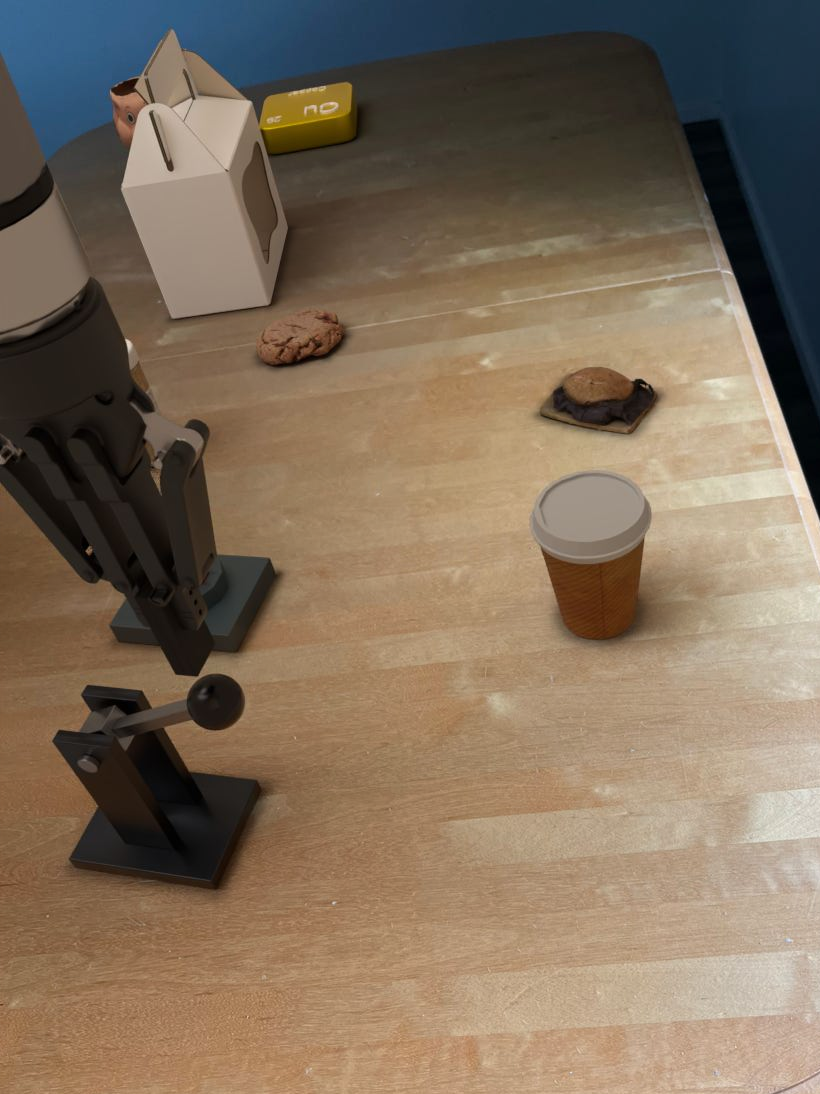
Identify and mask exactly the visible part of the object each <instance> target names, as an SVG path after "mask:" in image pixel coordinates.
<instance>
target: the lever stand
mask: <svg viewBox="0 0 820 1094" xmlns="http://www.w3.org/2000/svg"><path fill="white" fill-rule="evenodd" d="M80 696H81V698H82V699H83V701H84V703H85V704H86V706H87V708H88V709H89V710H90V713H91V712H93V711H97V710H100V709H104V708H107V707H111V706H114V705H116V706H117V707H118V708H119V709H121V710H122V711H123V712H124V713H125V714H126V715H131V714H134V713H138V712H141V711H145V710H149V709H152V708H153V706H152V705H151V703H150V701H149V700H148V698H147V696H146V695H145V692H144V691H143V690H142V689H134V688H132V689H131V688H124V687H113V686H105V685H95V684H86V685H85V687H84V688H83V690H82V692H81V694H80ZM51 743H52V744H53V745H54V746H55V748H56V749H57V750H58V752H59V753H60V755H61V756H62V758H63V760H65V761H66V764H67V765H69V767H70V768H71V770H72V771H73V773H74V774H75V775H76V777H77V778H78V780H79V781H80V783H81V784H82V786H83V787H84V788H85V790H86V791H87V792H88V794H89V796H91V798H92V799H93V801H94V803H95V804H96V805H97V808H96V809H95V812H94V813H93V815H92V817H91V819H90V820H89V822H88V824H87V826H86V827H85V829H84V831H83V833H82V834H81V837H80V838H79V840H78V842H77V843H76V845H75V847H74V849H73V851H72V853H71V854H70V856H69V858H68V860H69V862H70V863H71V865H72V866H73V867H74V868H77V869H83V870H89V871H95V872H96V871H97V872H103V873H108V874H116V875H122V876H128V877H134V878H140V879H146V880H154V881H159V882H166V883H171V884H177V885H178V884H179V885H185V886H192V887H197V888H198V887H199V888H205V889H210V890H217V889H218V887H219V885H220V883H221V880H222V878H223V876H224V873H225V871H226V869H227V867H228V865H229V863H230V860H231V858H232V855H233V853H234V851H235V849H236V846H237V844H238V842H239V840H240V838H241V835H242V833H243V832H244V829H245V828H246V827H245V826H246V825H247V822H248V820H249V818H250V815H251V813H252V811H253V809H254V807H255V805H256V804H255V803H257V800H258V798H259V795H260V793H261V791H262V786H261V785H260V783H259V780H258V779H251V778H245V777H244V778H243V777H235V776H228V775H219V774H213V773H204V772H197V771H196V772H195V771H190V770H189V769H188V767H187V765H186V764H185V762H184V760H183V759H182V756H181V755H180V753H179V751H178V749H177V748H176V746H175V744H174V743H173V741H172V739H171V738H170V736H169V734H168V733H167V731H166V729H165V727H164V728H160V729H156V730H152V731H148V732H145V733H141V734H137V735H135V736H134V738H133V739H132V741H131V743H130V745H129V747H128V748H127V750H126V751H125V750H124V749H123V747H122V746H121V744H120V743H119V741H118V739H117V738H116V737H115V736H109V735H100V734H92V733H83V732H79V731H74V730H67V729H66V730H65V729H58V730H57V732H56V733H55V736H53V738H52V740H51Z"/></svg>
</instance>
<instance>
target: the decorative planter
mask: <svg viewBox="0 0 820 1094" xmlns="http://www.w3.org/2000/svg"><path fill="white" fill-rule="evenodd" d="M140 76H141V75H139V76H135V77H131V78H128V79H126V80H123V81H121V82H119V83H117V84H115V85H114V86H112V87H110V90H109V98H110V101H111V104H112V106H113V110H112V120H113V124H114V129H115V130H116V134H117V136H118V138H119V139H120V141H121V143H122V144H123V145H124V147H126V148H127V149H128V150H129V151H130V148H131V144H132V139H133V135H134V131H135V126H136V122H137V117H138V114H139V112H140V111H141V109H142V108H144V107H145V106H147V104H146V103H145V101H144V100H143V99H142V98H141V97H140V96H139V94H138V93H137V92H136V91H135V90H134V89H133V88H134V87H135V85H136V83H137V81H138V79H139V78H140Z"/></svg>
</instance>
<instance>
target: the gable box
mask: <svg viewBox="0 0 820 1094" xmlns="http://www.w3.org/2000/svg"><path fill="white" fill-rule="evenodd" d="M139 76H140V78H139V79H138V81H137V83H136V85H135V87H134V88H133V89H134V90H135V91H136V92H137V93H138V94H139V96H140V97H141V98H142V99H143V100H144V101H145V103H146V104H147V106H145V107H144V108H142V109H141V111H140V112H139V114H138V117H137V122H136V126H135V131H134V135H133V139H132V144H131V148H130V150H129V154H128V157H127V162H126V167H125V171H124V175H123V176H124V177H123V180H122V183H121V185H120V190H121V193H122V197H123V199H124V201H125V203H126V206H127V208H128V211H129V214H130V216H131V219H132V221H133V224H134V226H135V229H136V231H137V234H138V236H139V240H140V241H141V244H142V247H143V249H144V252H145V254H146V257H147V259H148V261H149V264H150V267H151V269H152V272H153V275H154V277H155V280H156V282H157V284H158V288H159V289H160V292H161V295H162V297H163V299H164V303H165V306H166V308H167V310H168V313H169V315H170V318H171V319H173V320H178V319H184V318H191V317H198V316H205V315H212V314H213V315H214V314H218V313H225V312H234V311H240V310H247V309H254V308H260V307H268V306H270V305H271V303H272V299H273V294H274V290H275V286H276V281H277V276H278V273H279V268H280V263H281V260H282V255H283V250H284V247H285V243H286V238H287V233H288V229H289V226H288V224H287V220H286V216H285V213H284V209H283V205H282V202H281V198H280V195H279V191H278V188H277V184H276V181H275V177H274V173H273V171H272V166H271V162H270V160H269V156H268V153H267V152H266V149H265V145H264V142H263V138H262V135H261V131H260V128H259V124H260V123H259V121H258V117H257V114H256V110H255V107H254V103H253V102H252V101H251V100H250V99H249V98H248V97H246V96H245V94H243V93H242V92H241V91H240V90H239V89H238V88H236V87H235V86H234V85H233V84H232V83H231V82H230V81H229V80H228V79H226V78H225V76H223V75H222V74H221V73H220V72H219V71H218V70H217V69H215V68H214V66H212V64H210V63H209V62H208V61H207V60H205V59H204V57H202V56H201V55H200V54H199V53H198V52H195V51H192V50H188V49H187V48H186V47H183V48H181V45H180V43H179V40H178V36H177V35H176V33H175V30H174V29H172V28H171V29H167V31H166V33H165V35H164V36H163V38H162V39H160V41H159V42H158V44H157V46H156V47H155V49H154V51H153V52H152V55H151V56H150V58H149V59H148V62H147V63H146V66H145V67H144V69H143V71H142V72H141V74H140V75H139ZM199 94H200V95H199Z"/></svg>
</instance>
